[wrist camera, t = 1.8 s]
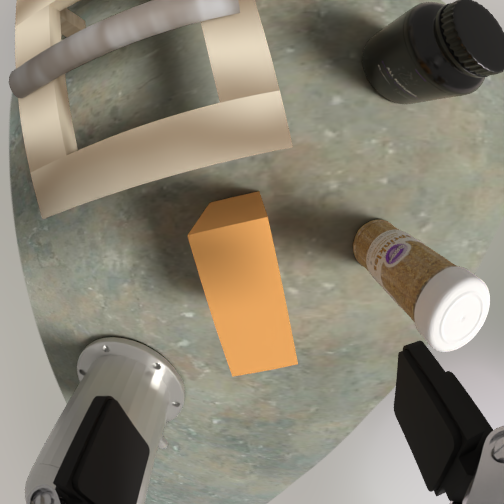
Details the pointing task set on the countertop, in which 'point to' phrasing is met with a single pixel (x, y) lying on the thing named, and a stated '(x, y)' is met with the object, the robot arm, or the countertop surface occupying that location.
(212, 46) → the wooden frame stool
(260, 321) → the orange block
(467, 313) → the sprinkles bottle
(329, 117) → the countertop surface
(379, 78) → the supplement bottle
